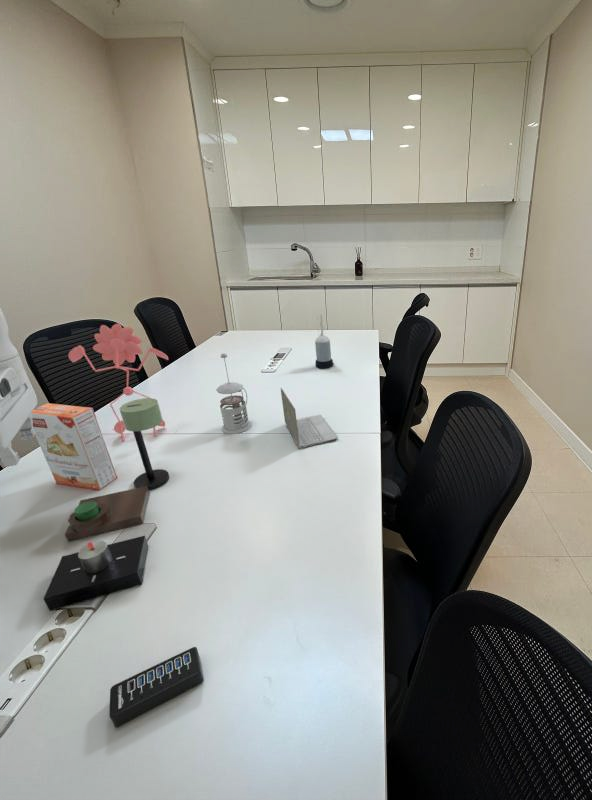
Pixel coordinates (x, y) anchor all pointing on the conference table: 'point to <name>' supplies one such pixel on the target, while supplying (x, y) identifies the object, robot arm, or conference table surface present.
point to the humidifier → (323, 350)
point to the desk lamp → (138, 419)
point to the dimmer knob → (95, 557)
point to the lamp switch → (86, 510)
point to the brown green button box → (111, 514)
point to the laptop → (306, 426)
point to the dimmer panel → (97, 575)
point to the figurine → (117, 357)
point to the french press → (233, 422)
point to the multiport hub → (155, 686)
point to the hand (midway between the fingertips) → (21, 450)
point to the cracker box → (73, 445)
